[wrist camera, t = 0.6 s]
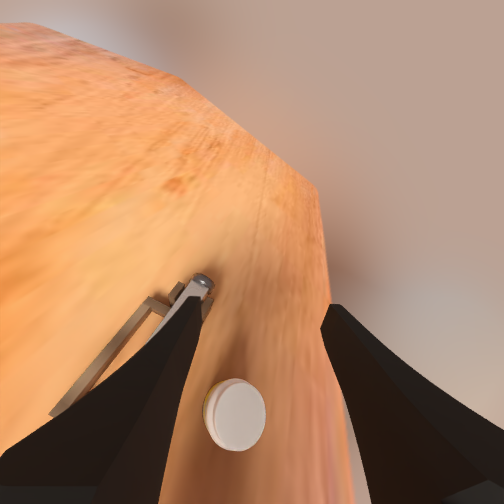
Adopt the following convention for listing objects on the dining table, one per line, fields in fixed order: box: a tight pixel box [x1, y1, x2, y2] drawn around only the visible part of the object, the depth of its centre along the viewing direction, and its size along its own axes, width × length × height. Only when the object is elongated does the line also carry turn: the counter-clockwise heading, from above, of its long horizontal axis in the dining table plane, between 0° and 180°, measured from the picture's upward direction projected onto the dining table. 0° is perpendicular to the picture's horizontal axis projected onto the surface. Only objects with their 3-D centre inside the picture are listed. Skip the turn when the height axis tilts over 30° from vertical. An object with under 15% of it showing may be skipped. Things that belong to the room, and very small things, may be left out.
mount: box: [48, 282, 213, 418], centre depth 20 cm, size 14×8×4 cm, turn 157°
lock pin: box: [146, 273, 215, 343], centre depth 21 cm, size 13×3×3 cm, turn 157°
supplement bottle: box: [202, 378, 266, 451], centre depth 17 cm, size 5×5×8 cm
